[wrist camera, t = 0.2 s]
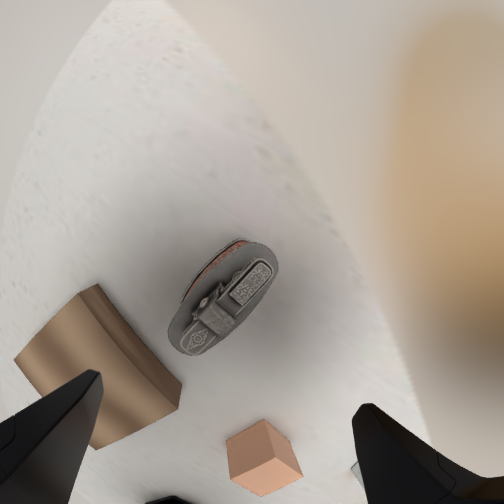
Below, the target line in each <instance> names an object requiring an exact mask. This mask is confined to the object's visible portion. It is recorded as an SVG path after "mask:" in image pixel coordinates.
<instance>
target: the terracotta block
mask: <svg viewBox="0 0 504 504" xmlns="http://www.w3.org/2000/svg"><path fill="white" fill-rule="evenodd" d="M226 445H227V455H228V464H229V473H230V480H232V481H234V482H235V483H237V484H239V485H241V486H242V487H244V488H246V489H248V490H249V491H251V492H253V493H255V494H257V495H259V496H261V497H262V496H265V495H267V494H269V493H271V492H274V491H276V490H278V489H280V488H282V487H284V486H286V485H288V484H290V483H292V482H294V481H296V480H298V479H300V478H302V477H304V476H303V474H302V471H301V469H300V466H299V464H298V462H297V459H296V457H295V454H294V452H293V449H292V447H291V444H290V441H289V440H288V439H286V438H285V437H284V436H283V435H282V434H281V433H279V432H278V431H277V430H276V429H275V428H274V427H273V426H271V425H270V424H269V423H268V422H267V421H266V420H265V419H263V420H262V421H260V422H258V423H257V424H255V425H253V426H251V427H250V428H248V429H246V430H244V431H243V432H241V433H239V434H237V435H235V436H233V437H232V438H230V439H228V440H226Z"/></svg>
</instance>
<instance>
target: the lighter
mask: <svg viewBox="0 0 504 504" xmlns="http://www.w3.org/2000/svg"><path fill="white" fill-rule="evenodd" d="M277 272H278V262H277V259H276V256H275V255H274V253H273V252H272V251H271V250H270V249H269V248H268V247H266V246H265V245H262V244H259V243H256V242H251V241H249V240H246V239H236V240H234V241H233V242H231V243H230V244H228V245H227V246H226V247H224V248H223V249H222V250H220V251H219V252H218V253H217V254H216V255H215V256H213V257H212V258H211V259H210V260H209V261H208V262H207V263H206V264H205V265H204V266H203V267H202V269H201V270H200V271H199V272H198V274H197V275H196V276H195V278H194V279H193V280H192V282H191V283H190V285H189V287H188V288H187V290H186V292H185V293H184V295H183V297H182V300H181V306H180V307H179V309H178V311H177V312H176V314H175V316H174V317H173V319H172V321H171V323H170V325H169V328H168V338H169V340H170V342H171V344H172V345H173V346H174V347H175V348H176V350H178V351H180V352H181V353H183V354H186V355H190V356H193V355H199V354H202V353H204V352H205V351H207V350H208V349H210V348H211V347H213V346H214V345H216V344H217V343H219V342H220V341H221V340H223V339H224V338H225V337H226V336H228V335H229V334H230V333H231V332H232V331H233V330H234V329H235V328H237V327H238V326H239V325H240V324H241V323H242V322H243V321H244V320H245V319H246V318H247V316H248V315H249V314H250V313H251V312H252V310H253V309H254V308H255V307H256V306H257V304H258V303H259V302H260V301H261V299H262V298H263V296H264V295H265V293H266V292H267V290H268V288H269V287H270V285H271V284H272V282H273V281H274V279H275V277H276V275H277Z"/></svg>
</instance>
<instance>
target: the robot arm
mask: <svg viewBox="0 0 504 504" xmlns="http://www.w3.org/2000/svg"><path fill="white" fill-rule="evenodd" d="M103 393H104V387H103V381H102V375H101V373H100V372H99V371H96V370H93V369H87V370H86V371H84V372H83V373H81V374H79V375H78V376H76V377H75V378H73V379H71V380H70V381H68V382H67V383H65V384H63V385H62V386H60V387H59V388H57V389H55V390H54V391H52V392H51V393H49V394H47V395H46V396H44V397H42V398H41V399H39V400H38V401H36V402H34V403H33V404H31V405H29V406H28V407H26V408H25V409H23V410H21V411H20V412H18V413H16V414H15V416H14V415H13V416H11V417H10V418H8V419H7V420H5V421H3V422H1V423H0V504H68V502H69V499H70V495H71V492H72V489H73V486H74V483H75V480H76V477H77V474H78V471H79V468H80V466H81V463H82V460H83V457H84V454H85V452H86V449H87V446H88V444H89V441H90V439H91V436H92V433H93V430H94V427H95V423H96V419H97V415H98V412H99V408H100V404H101V401H102V397H103ZM352 428H353V434H354V441H355V449H356V455H357V459H358V463H359V467H360V471H361V475H362V480H363V484H364V488H365V492H366V497H367V501H368V504H504V476H501V477H493V478H486V477H481V476H479V475H476V474H475V473H473V472H471V471H468V470H467V469H465V468H463V467H461V466H459V465H458V464H456V463H454V462H453V461H451V460H449V459H448V458H446V457H445V456H443V455H442V454H441V453H439V452H438V451H436V450H435V449H433V448H432V447H431V446H429V445H428V444H426V443H425V442H424V441H422V440H421V439H420V438H418V437H417V436H415V435H414V434H413V433H411V432H410V431H409V430H407V429H406V428H405V427H403V426H402V425H401V424H399V423H398V422H397V421H395V420H394V419H393V418H391V417H390V416H389V415H387V414H386V413H385V412H384V411H382V410H381V409H380V408H378V407H377V406H376V405H374V404H373V403H365V404H362V405H361V406H360V407H359V409H358V410H357V412H356V413H355V415H354V416H353V418H352ZM145 504H188V503H187V502H185V501H183V500H181V499H179V498H178V497H175V496H171V497H168V498H164V499H161V500H157V501H153V502H149V503H145Z"/></svg>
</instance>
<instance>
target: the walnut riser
mask: <svg viewBox="0 0 504 504" xmlns="http://www.w3.org/2000/svg"><path fill="white" fill-rule="evenodd" d="M14 361H15V363H16V364H17V366H18V367H19V368H20V370H21V371H22V372H23V374H24V375H25V376H26V378H27V379H28V380H29V382H30V383H31V384H32V385H33V387H34V388H35V389H36V390H37V391H38V393H39V394H40V395H41V396H42V397H44V396H46V395H47V394H49V393H51V392H52V391H54V390H55V389H57V388H59V387H60V386H62V385H63V384H65V383H67V382H68V381H70V380H71V379H73V378H75V377H76V376H78V375H79V374H81V373H83V372H84V371H86V370H87V369H93V370H96V371H99V372H100V373H101V375H102V381H103V387H104V393H103V397H102V401H101V404H100V408H99V412H98V415H97V419H96V423H95V427H94V430H93V433H92V436H91V439H90V441H89V445H90V446H91V447H92V448H94V449H95V450H98V449H100V448H103V447H105V446H107V445H109V444H111V443H114V442H116V441H118V440H120V439H122V438H124V437H126V436H128V435H130V434H132V433H134V432H136V431H138V430H140V429H142V428H144V427H146V426H148V425H150V424H152V423H154V422H156V421H157V420H159V419H161V418H163V417H165V416H167V415H168V414H170V413H172V412H174V411H176V410H177V409H178V406H179V400H180V394H181V388H182V384H181V383H180V382H179V381H178V380H177V379H176V378H175V377H174V376H173V375H172V374H171V373H170V372H169V371H168V370H167V369H166V368H165V367H164V366H163V364H162V363H161V362H160V361H159V360H158V359H157V358H156V357H155V356H154V355H153V353H152V352H151V351H150V350H149V349H148V348H147V347H146V345H145V344H144V343H143V342H142V341H141V340H140V338H139V337H138V336H137V335H136V334H135V332H134V331H133V330H132V329H131V327H130V326H129V325H128V324H127V322H126V321H125V320H124V319H123V317H122V316H121V315H120V314H119V312H118V311H117V310H116V308H115V307H114V306H113V304H112V303H111V302H110V300H109V299H108V298H107V296H106V295H105V293H104V292H103V291H102V289H101V288H100V286H99V285H98V284H96V285H94V286H92V287H90V288H88V289H86V290H84V291H81V292H79V293H78V294H76V295H75V296H74V297H73V298H72V299H71V300H70V301H69V302H68V303H67V304H66V305H65V306H64V307H63V308H62V309H61V310H60V311H59V312H58V313H57V314H56V315H55V316H54V317H53V318H52V319H51V320H50V321H49V322H48V323H47V324H46V325H45V326H44V327H43V328H42V329H41V330H40V331H39V332H38V333H37V334H36V335H35V337H34V338H33V339H32V340H31V341H30V342H29V343H28V344H27V345H26V346H25V347H24V349H23V350H22V351H21V352H20V353H19V354H18V355H17V356H16V358H15V359H14Z"/></svg>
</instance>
